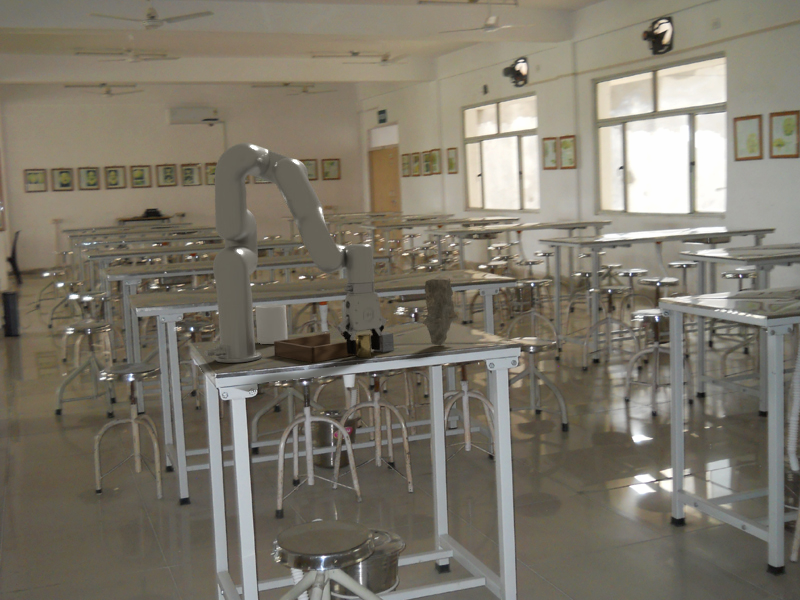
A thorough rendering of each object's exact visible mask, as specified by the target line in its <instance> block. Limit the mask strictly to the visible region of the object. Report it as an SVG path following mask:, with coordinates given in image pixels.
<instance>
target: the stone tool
mask: <svg viewBox="0 0 800 600" xmlns="http://www.w3.org/2000/svg"><path fill="white" fill-rule="evenodd" d="M424 284H425V285H424V293H425V304H426V309H427V310H426V311H427V315H426V318H425V319H424V320H423V321H422V324H423V325H425V326H426V328H427V331H428V334H429V336H430V337H429V338H430V343H431V344H432V345H435V346H441V345H443V344H445V342H446V340H447V338H448V335H447V333H448V332H449V331H450V328H451V324H452V323H453V322H456V321H457V320H458V318H459V316H458V315H457V313H455V306H454V303H453V300H452V297H453V296H454V292H453V289H452V284H451V279H450V278H448V277H447V278H446V277H444V276H436V277H433V278H430V279H428V280H426V281H425V282H424Z"/></svg>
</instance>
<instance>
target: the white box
mask: <svg viewBox="0 0 800 600" xmlns="http://www.w3.org/2000/svg"><path fill="white" fill-rule="evenodd" d="M255 323H256V339H257V343H258V344H259V343H260V344H259V345H262V344H274V341H280V340H286V339H288V326H287V325H288V324H287V323H288V322H287V305H286V304H284V303H268V304H266V303H265V304H259V305H256V306H255Z"/></svg>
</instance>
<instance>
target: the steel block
mask: <svg viewBox="0 0 800 600" xmlns="http://www.w3.org/2000/svg"><path fill="white" fill-rule="evenodd" d="M381 333H382V334H381V336H380V350H373V351H374V352H376V353H377V352H378V353H388V352H392V351H395V349H394V347H395V346H394V345H395V343H394V333H392V332H387V331H382V332H381Z"/></svg>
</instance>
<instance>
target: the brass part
mask: <svg viewBox="0 0 800 600" xmlns="http://www.w3.org/2000/svg"><path fill="white" fill-rule="evenodd" d="M355 340H356V352H357V354H356V357H357V358H368V357H372V349H371V333H356V335H355Z"/></svg>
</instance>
